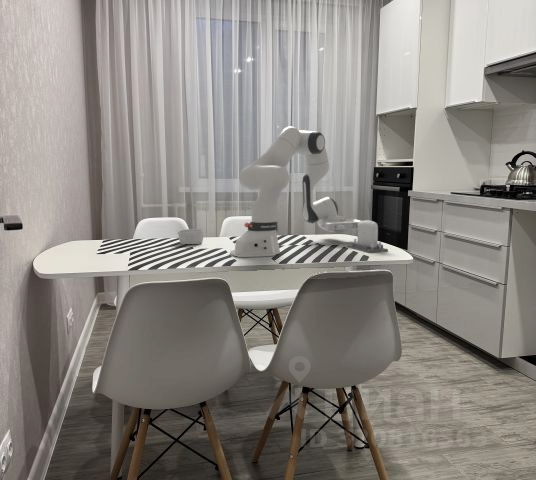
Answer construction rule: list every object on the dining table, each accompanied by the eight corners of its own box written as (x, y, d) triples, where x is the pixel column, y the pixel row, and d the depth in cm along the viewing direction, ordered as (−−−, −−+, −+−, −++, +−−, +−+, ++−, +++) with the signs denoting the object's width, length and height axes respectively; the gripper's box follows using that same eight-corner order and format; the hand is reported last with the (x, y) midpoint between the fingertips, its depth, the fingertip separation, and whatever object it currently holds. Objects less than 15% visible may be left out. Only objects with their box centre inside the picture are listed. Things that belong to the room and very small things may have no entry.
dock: (368, 252, 209) (369, 244, 208) (347, 247, 225) (347, 238, 225) (387, 251, 213) (387, 242, 212) (365, 245, 229) (365, 237, 229)
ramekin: (173, 245, 237) (172, 231, 236) (185, 241, 250) (184, 228, 249) (197, 246, 234) (197, 232, 233) (208, 242, 246) (207, 229, 245)
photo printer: (355, 246, 222) (356, 219, 220) (362, 245, 224) (362, 219, 223) (372, 248, 214) (373, 221, 212) (379, 247, 216) (379, 221, 214)
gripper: (319, 219, 238) (333, 221, 225) (354, 217, 246) (369, 219, 233) (319, 231, 239) (333, 234, 226) (354, 229, 247) (369, 232, 234)
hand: (351, 227), depth 230 cm, fingers open, 8 cm apart
